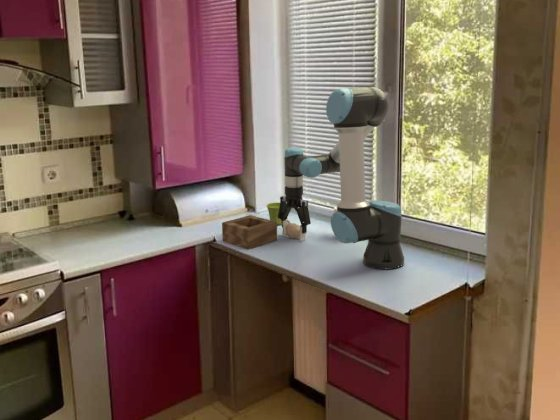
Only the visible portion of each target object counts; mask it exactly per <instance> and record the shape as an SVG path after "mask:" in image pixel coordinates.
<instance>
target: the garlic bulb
mask: <svg viewBox="0 0 560 420" xmlns="http://www.w3.org/2000/svg"><path fill="white" fill-rule="evenodd" d="M286 236H287V238H289V239H293V240H294V239H300V225H298V224H297V223H293V222H290V220H288V224H287V225H286Z"/></svg>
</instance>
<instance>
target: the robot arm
mask: <svg viewBox="0 0 560 420" xmlns="http://www.w3.org/2000/svg"><path fill="white" fill-rule="evenodd" d="M389 103H390V102H389V98H388V97H387V95H386V94H385V92H384V91H382V89H380V88H378V87H376V86H362V87H361V86H360V87H359V86H358V87H343V88H342V87H341V88H337V89H335V90H334V91H332V92H331V93H330V95H329V96H328V99H327V101H326V106H325V112H326V113H325V114H326V117H327V119H328V121H329V123H331V124H333V129H334V130H335V131H336V132H337V133H338V141H337V142H336V143H335V145H334V147H333V148H332V149H331V151H329V153H328V154H327V153H326V154H322V155H320V154H319V155H311V156H307V155H304V150H303V148H302V147H295V146H294V147H287V148H286V149H285V150H284V157H283V159H284V160H283V161H284V163H283V164H284V165H283V166H284V185H285V186H284V195H282V196H280V197H279V200H280V201H279V203H280V207H279V212H278V218H280V219H281V220H282V225H281V228H282V237H285V236H287V235H286V225H287V224H288V221H289V219H288V217H289V215H290V213H291V209H292V208H293V209H294V211H296V213H297V216H298V220H299V222H300V225H299V226H300V238H299V242H303V241H306V240H307V239H306V234H307V227H308V226H309V225H311V224H312V223H311V216H310V212H309V201H308V200H303V195H304V186H303V185H304V177H306V178H311V179H312V178H317V177H318V176H320V175H325V174H332V173H333V174H334V173H339V181H340V183H339V184H340V202H338V204H336V206H337V212H335V213H334V212H333V214H332V215H331V217H330V227H331V230H332V233H333V235H334V236H335V238H336V239H337V240H338V241H339V242H340V243H343V244H356V243H359V242H364V241H367V245H366V247H365V251H364V253H363V257H362V263H363V264H364V265H365V266H366V267H369V268H372V267H373V268H372V269H377V268H380V269H379V270H386V269H385V268H395V267H398V266H401V265H403V264H404V265H405V256H404V252H403V248H402V246H401V231H402V217H403V216H402V207H401V205H400V204H398V203H396V202H391V201H385V200H371V201H370V202H368V201H367V200H366V177H365V175H366V173H365V171H366V169H365V145H364V144H365V143H364V141H365V140H366V138H367V137H368V136H369V134H370V133H371V132H372V131H373V130H374V128H377V127H380V126H381V124H382V123H383V122H384V121H385V119H386V117H387V116H388V112H389V108H390V104H389ZM303 176H304V177H303ZM404 265H403V266H404ZM381 268H382V269H381ZM395 269H396V268H395Z"/></svg>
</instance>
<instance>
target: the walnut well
mask: <svg viewBox="0 0 560 420" xmlns="http://www.w3.org/2000/svg"><path fill="white" fill-rule="evenodd" d="M221 230H222V231H221V232H222V233H221V235H222V236H221V237H222V242H224V243H228V244H231V245H233V246H237V247H240V248H243V249H246V250H252V249H255V248H258V247H261V246H264V245H268V244H271V243H275V242H278V225H277V222H275V221H271V220H270V219H267V218H263V217H261V216H260V217H259V216H255V215H252V214H249V215H245V216H241V217H237V218H235V219H230V220H226V221H223V222H221Z"/></svg>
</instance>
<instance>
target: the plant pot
mask: <svg viewBox="0 0 560 420" xmlns="http://www.w3.org/2000/svg"><path fill="white" fill-rule="evenodd" d="M279 207H280V202H269V203H267V204H266V208H267V210H268V217H269V220H271V221H275V222H277V226H278V225H280V226H282V220H281V219H280V218H278V212H279Z"/></svg>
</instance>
